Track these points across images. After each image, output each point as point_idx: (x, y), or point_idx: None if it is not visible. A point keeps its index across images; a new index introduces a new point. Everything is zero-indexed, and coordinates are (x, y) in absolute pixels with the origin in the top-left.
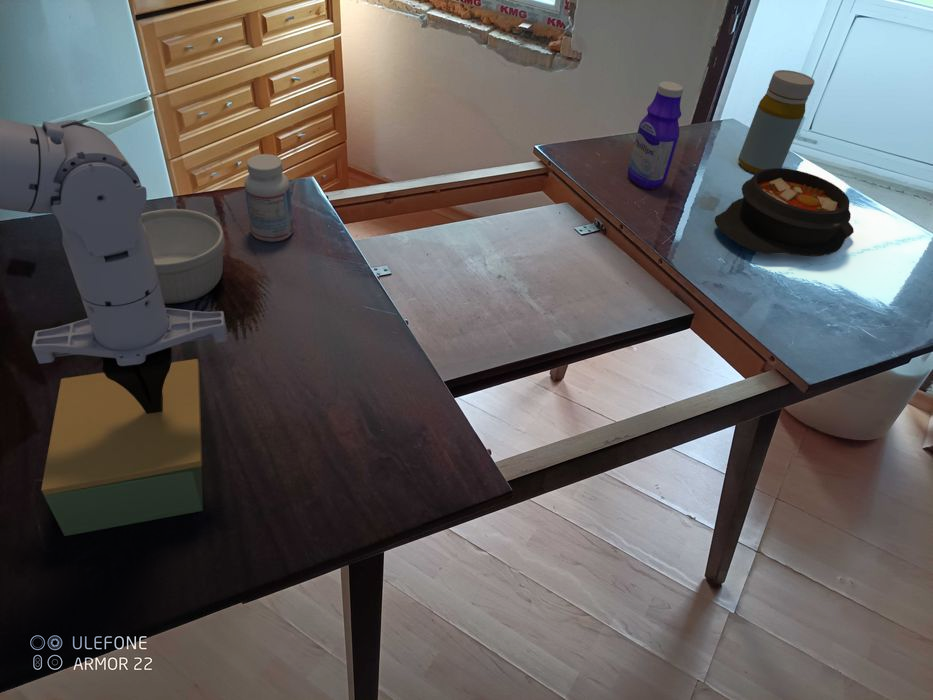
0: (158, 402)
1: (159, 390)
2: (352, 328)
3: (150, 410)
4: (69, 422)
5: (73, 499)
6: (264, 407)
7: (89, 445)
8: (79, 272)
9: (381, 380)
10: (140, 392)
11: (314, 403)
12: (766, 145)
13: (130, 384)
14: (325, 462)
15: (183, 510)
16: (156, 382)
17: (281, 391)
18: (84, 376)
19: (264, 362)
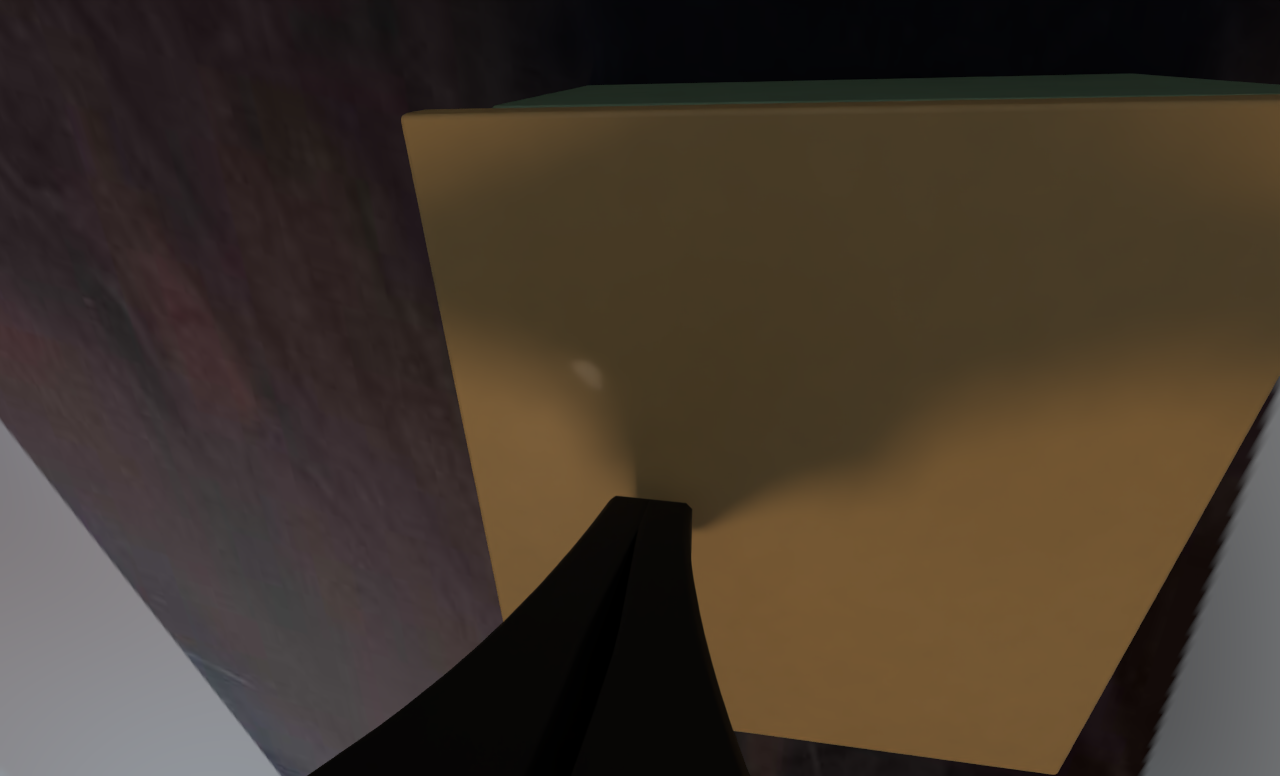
0: (585, 545)
1: (516, 625)
2: (261, 638)
3: (658, 514)
4: (1081, 567)
5: (1150, 90)
6: (434, 471)
7: (1013, 399)
8: None
9: (146, 472)
10: (639, 648)
11: (300, 447)
12: None
13: (662, 765)
14: (216, 214)
15: (648, 85)
16: (467, 708)
17: (397, 510)
18: (959, 757)
19: (455, 609)
